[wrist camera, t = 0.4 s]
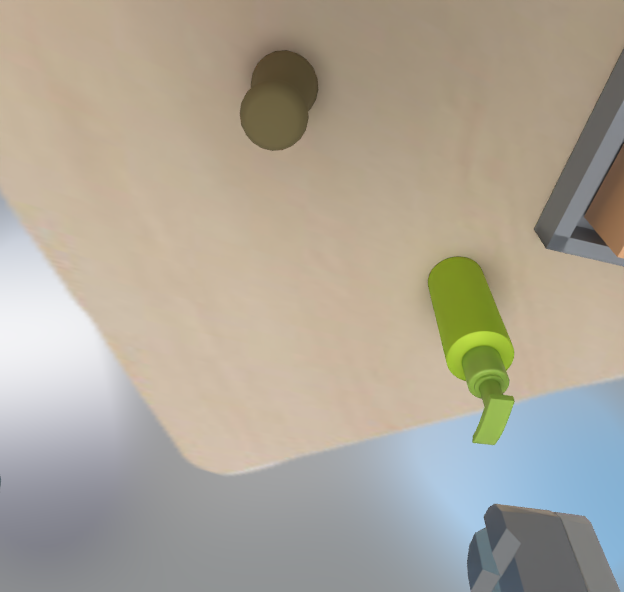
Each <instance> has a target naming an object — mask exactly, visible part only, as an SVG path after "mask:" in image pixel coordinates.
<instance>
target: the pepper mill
mask: <svg viewBox="0 0 624 592" xmlns="http://www.w3.org/2000/svg"><path fill="white" fill-rule="evenodd" d="M317 92H318V81H317V76H316V74H315V71H314V69H313V67H312V66H311V65H310V63H309V62H308V61H307V60H306V59H305V58H303V57H302V56H300V55H299V54H297V53H294V52H290V51H287V50H285V51H275V52H273V53H271V54H268V55H266V56H265V57H264V58H263V59H262V60H261V61H260V62H259V63H258V64H257V66H256V68H255V70H254V72H253V75H252V81H251V89H250V90H249V91H248V92H247V93H246V95H245V97H244V99H243V101H242V103H241V109H240V119H241V125H242V127H243V129H244V131H245V133H246V135H247V136H248V138H249V139H250V140H251V141H252V142H253V143H254V144H256V145H258V146H259V147H261V148H263V149H267V150H272V151H274V150H283V149H286V148H288V147H291V146H292V145H294V144H295V143H296V142H297V141H298V140H300V139H301V137H302V135H303V134H304V132H305V130H306V127H307V123H308V111H309V110H310V109H311V107H312V105H313V104H314V102H315V100H316V96H317Z"/></svg>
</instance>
